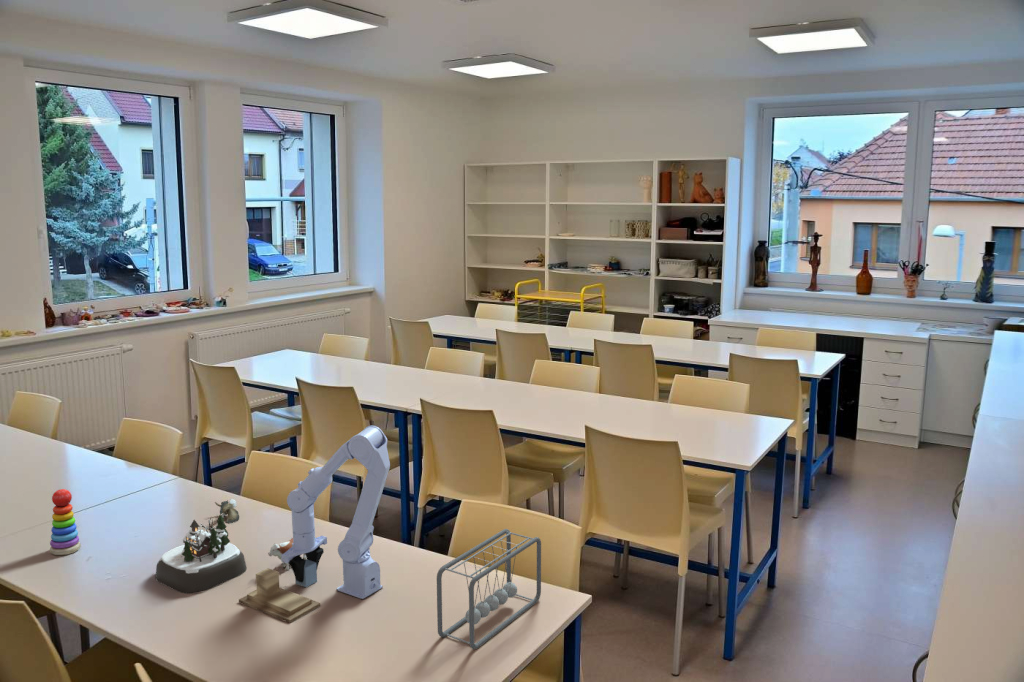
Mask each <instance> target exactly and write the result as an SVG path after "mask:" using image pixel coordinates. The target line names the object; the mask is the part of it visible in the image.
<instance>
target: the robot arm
mask: <svg viewBox="0 0 1024 682" xmlns="http://www.w3.org/2000/svg"><path fill="white" fill-rule="evenodd" d="M388 451H389V450H388V438H387V436H386V434H385V433H384V432H383V430H382V429H381V428H380V427H378V426H376V425H368V426H366V427H364V429H363V430H362V431H360V432H359V433H357V434H356V435H353V436H352V437H350V439H349V440H347V441H346V442H344V443H343V444H342V445H341V446H340V447H339V448H338V449H337V450H336V451H335V453H334V454H333V455H332V456H331V457H330V458H329V459H328V460H327V462H326V463H325V464H324V465H323V466H317V467H315V468H314V467H312V468H310V469H309V471H308V472H307V474H308V475H307V476H306V478H304V480H301V481H299V482H298V483H297V487H296V488H295V489H294V490H293V489H292V490H291V491H290V492H289V494H288V495H287V498H286V503H287V506H288V507H289V509H290V510H291V522H292V523H291V524H292V525H291V526H292V538H293V543H292V547H291V548H290V549H289V550H288V551H286V552H285V553H284V554H282V555H281V560H280V561H281V562H282V563H283V562H284V563H286V564H287V563H289V567H290V568H291V569H292V572H293V574H294V575H293V576H294V577H295V578H296V581H298V582H303V580H304V565H305V562H306V560H305V559H303V554H306V559H307V560H310V561H313V562H316V567H317V568H318V567H319V563H320V560H321V559H322V555H323V554H324V548H323V547H321V546H323V545H327V544H328V537H327V536H325V535H320V536H317V537H316V530H315V529H316V527H315V525H316V524H315V510H314V509H315V507H314V506H315V503H316V501H317V500H318V498H319V496H320V495H321V494H322V493H323V492H325V490H326V489H327V488H328V487H329V486H330V485H331V484H332V483H333V474H335V472H337V471H338V470H339V469H340V468H341V466H343V465H344V464H345V463H346V462H347V461H348V460H354V459H355V460H357V461H358V462H359V463H360V464H361V465H362V466H364V468H365V469H366V470H367V472H366V473H367V474H366V475H365V479H364V482H363V487H362V489H361V493H360V496H359V499H358V502H357V505H356V509H355V513H354V515H353V518H352V522H351V524H350V525H349V528H348V530H347V531H346V533H345V536H344V537H343V539H342V541H340V543H339V544H338V546H337V553H338V555H339V558H341V560H342V572H343V573H342V575H343V577H342V578H343V584H342V585H340V586H338V587H337V588H336V591H339V592H341V593H344V594H347V595H350V596H353V597H354V598H355V597H356V598H358V599H361V600H363V599H366V598H367V597H369V596H371V595H372V594H374V593H376V592H377V591H379V590H381V589H382V588H383V587H384V586H383V585H382V584H381V567H380V564H379V562H377V561H376V560H374V559H373V558H372V556H371V551H370V548H371V546H372V545H373V544H374V533H373V532H374V529H375V527H374V525H373V522H374V520H375V516H376V513H377V510H378V506H379V504H380V501H381V497H382V494H383V490H384V488H385V484H386V481H387V478H388V474H389V472H390V467H391V462H390V456H389V452H388ZM301 555H302V556H301Z"/></svg>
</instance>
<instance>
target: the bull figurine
mask: <svg viewBox="0 0 1024 682" xmlns="http://www.w3.org/2000/svg"><path fill="white" fill-rule="evenodd" d="M292 543H293V537H291V538H290V539H289V540H287V541H284V542H280V543H279V544H277V543H274V544H273V545H272V546H271V547H270V550H269V552H267V554H268V556H269V557H272V556H274V557H277V558H278V560H280V561H281V555H282V554H284V553H285V552H286V551H288V550H289V549H290V548H291V547H292ZM302 559H307V558H306V554H302ZM281 567H282V568H285V569H284V571H286V572H287V571H289V570H290V565H289V563H284V562H282V565H281Z"/></svg>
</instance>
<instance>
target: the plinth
mask: <svg viewBox="0 0 1024 682" xmlns="http://www.w3.org/2000/svg"><path fill="white" fill-rule="evenodd" d="M238 603H240V604H242V605H244V606H247V607H249V608H252V609H254V610H256V611H259V612H261V613H265V614H266V615H269V616H272V617H274V618H276V619H279V620H281V621H284V622H286V623H289V624H291V623H293V622H295V621H297V620H298V619H300V618H301V617H303V616H305V615H307V614H309V613H311V612H312V611H314V610H315V609H317V608H319V607H321V602H319V601H316V600H314V599H311V598H309V597H306V596H304V595H300V594H297V593H296V592H292V591H289V590H288V589H285V588H282V587H280V592H278V593H276V594H274V595H272V596H271V597H269V598H266V597H264V596H261V595H258V594H257V589H255V590H253V591H251V592H249V593H247V594H246V595H245V596H243V597H241V598H238Z"/></svg>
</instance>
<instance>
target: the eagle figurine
mask: <svg viewBox="0 0 1024 682" xmlns="http://www.w3.org/2000/svg"><path fill="white" fill-rule="evenodd" d="M214 504H215V505H216V506H218V507H219V508H220V509H219V514H220V513H221V516H222V517H223V519H224V518H225V517H226V515H227V518H226V523H228V524H234V523H236V522H237V521H239V520H240V514H239V512H238V510H237V509H235V508H236V507H237V506H238V505H237V500H235V499H234V498H230V499H229V500H223V501H221V503H218V502H216V501H215V502H214ZM233 522H234V523H233Z"/></svg>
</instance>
